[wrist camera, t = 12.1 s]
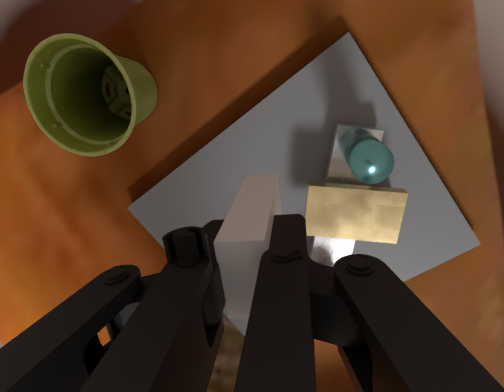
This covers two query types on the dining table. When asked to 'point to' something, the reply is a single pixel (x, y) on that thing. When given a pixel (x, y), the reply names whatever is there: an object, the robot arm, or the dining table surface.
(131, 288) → the robot arm
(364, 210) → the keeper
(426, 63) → the dining table surface
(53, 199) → the dining table surface
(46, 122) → the plant pot
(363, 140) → the lever
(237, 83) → the dining table surface
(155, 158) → the dining table surface
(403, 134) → the base plate
